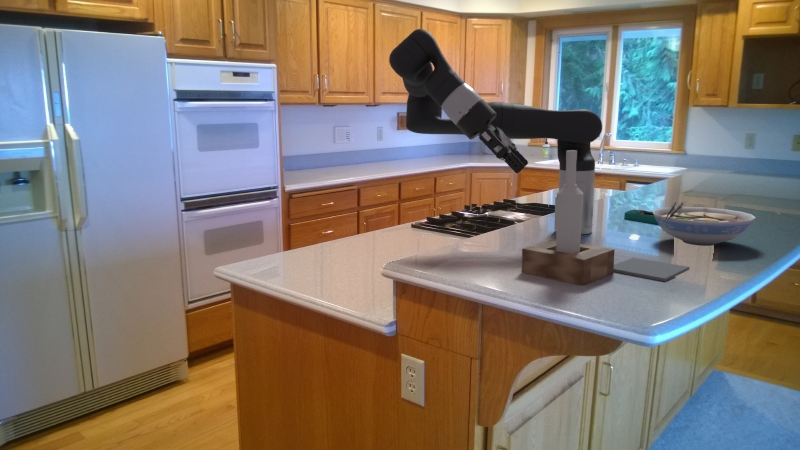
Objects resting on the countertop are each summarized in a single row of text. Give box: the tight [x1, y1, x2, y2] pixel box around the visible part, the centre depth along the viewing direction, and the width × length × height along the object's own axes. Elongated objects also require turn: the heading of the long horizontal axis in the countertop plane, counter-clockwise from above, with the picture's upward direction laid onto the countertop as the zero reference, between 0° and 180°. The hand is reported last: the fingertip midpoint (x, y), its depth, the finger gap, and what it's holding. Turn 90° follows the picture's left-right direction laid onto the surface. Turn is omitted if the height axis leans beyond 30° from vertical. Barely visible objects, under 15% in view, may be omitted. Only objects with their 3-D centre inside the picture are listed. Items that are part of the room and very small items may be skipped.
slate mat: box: [613, 257, 690, 282], centre depth 121 cm, size 12×12×1 cm
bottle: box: [555, 150, 584, 254], centre depth 117 cm, size 5×5×25 cm
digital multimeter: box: [623, 209, 659, 225], centre depth 175 cm, size 7×15×3 cm, turn 30°
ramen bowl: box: [652, 201, 757, 247], centre depth 144 cm, size 25×23×8 cm
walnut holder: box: [521, 239, 615, 286], centre depth 119 cm, size 14×12×5 cm
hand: (523, 168), depth 118 cm, fingers open, 8 cm apart
